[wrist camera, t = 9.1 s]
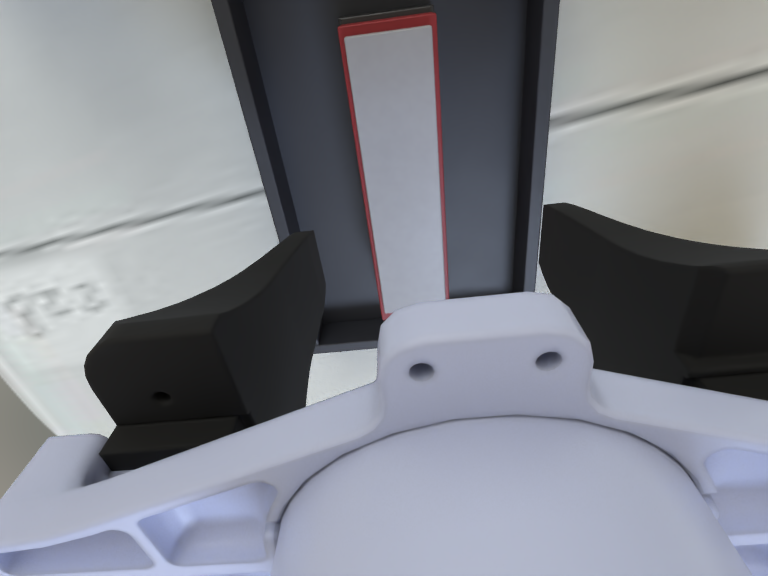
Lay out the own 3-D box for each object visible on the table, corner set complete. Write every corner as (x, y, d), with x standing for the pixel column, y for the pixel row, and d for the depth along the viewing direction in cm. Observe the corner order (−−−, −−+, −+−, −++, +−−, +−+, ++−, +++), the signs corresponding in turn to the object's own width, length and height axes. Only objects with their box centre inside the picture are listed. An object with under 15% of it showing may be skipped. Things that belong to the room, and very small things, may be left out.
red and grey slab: (444, 282, 24) (456, 333, 20) (380, 288, 24) (380, 340, 21) (431, 4, 17) (444, 4, 13) (340, 16, 17) (328, 20, 14)
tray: (519, 307, 26) (531, 334, 24) (316, 326, 26) (310, 354, 24) (545, -97, 16) (570, -112, 14) (219, -47, 17) (195, -54, 14)
